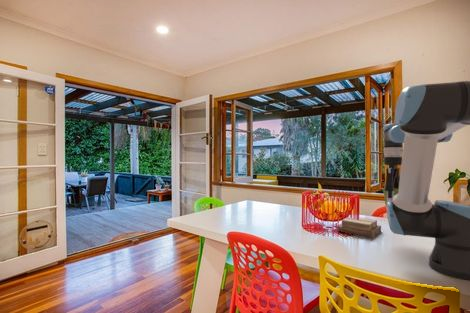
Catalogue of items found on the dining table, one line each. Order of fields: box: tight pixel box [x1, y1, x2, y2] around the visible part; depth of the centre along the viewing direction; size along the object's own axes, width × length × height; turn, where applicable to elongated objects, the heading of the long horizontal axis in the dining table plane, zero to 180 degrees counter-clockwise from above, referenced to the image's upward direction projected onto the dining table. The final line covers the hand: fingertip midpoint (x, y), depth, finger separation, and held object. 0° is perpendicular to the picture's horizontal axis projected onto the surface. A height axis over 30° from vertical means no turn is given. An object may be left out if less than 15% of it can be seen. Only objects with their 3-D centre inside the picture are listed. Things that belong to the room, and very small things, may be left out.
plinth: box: [337, 216, 382, 240], centre depth 132 cm, size 16×16×6 cm
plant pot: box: [381, 187, 399, 206], centre depth 121 cm, size 9×9×9 cm
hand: (393, 203), depth 121 cm, fingers closed on plant pot, 9 cm apart
